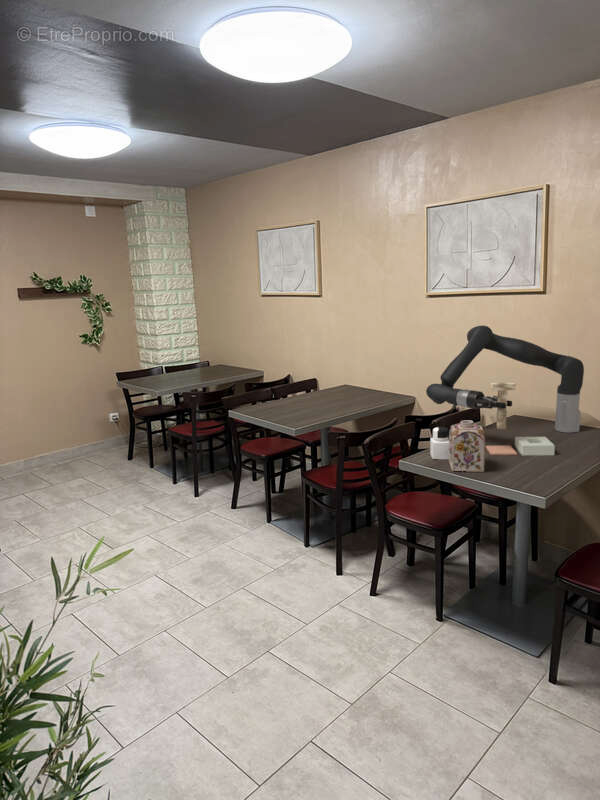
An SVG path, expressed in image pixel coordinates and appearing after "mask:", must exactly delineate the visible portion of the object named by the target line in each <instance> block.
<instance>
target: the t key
mask: <svg viewBox="0 0 600 800" xmlns="http://www.w3.org/2000/svg"><path fill="white" fill-rule="evenodd" d="M516 386H517V385H516V383H515V382H490V388H489V389H490V390H491V391H497V396H498V401H497V402H501V403H506V408H505V409H502V408H496V428H497V429H498V430H506V429H507V414H508V413H507V409H508V406H507V400H508V392H509V391H516Z"/></svg>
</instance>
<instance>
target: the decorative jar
mask: <svg viewBox="0 0 600 800" xmlns="http://www.w3.org/2000/svg"><path fill="white" fill-rule="evenodd" d="M448 438H449V459H448V463H449V465H450V468H451V471H452V472H453V471H462V472H463V471H466V472H467V473H469V472H470V473H484V472H485V449H486V444H485V440H486V438H485V432H484V428H483V426H482V425H480V424H477V423H474V421H473V420H471V419H470V420H468V419H467V420H465V419H464V420H461V421H460V422H459V423H455V424H452V425H451V426H450V428H449V429H448ZM466 472H465V473H466ZM463 473H464V472H463Z"/></svg>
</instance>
